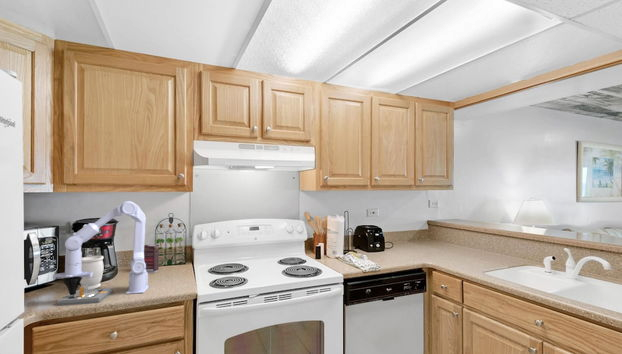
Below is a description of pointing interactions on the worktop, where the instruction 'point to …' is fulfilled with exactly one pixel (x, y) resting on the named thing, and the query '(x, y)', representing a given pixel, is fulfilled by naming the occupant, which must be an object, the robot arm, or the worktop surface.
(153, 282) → the worktop surface
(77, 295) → the dial
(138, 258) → the robot arm
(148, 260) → the supplement box
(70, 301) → the dial board
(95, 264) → the jar
